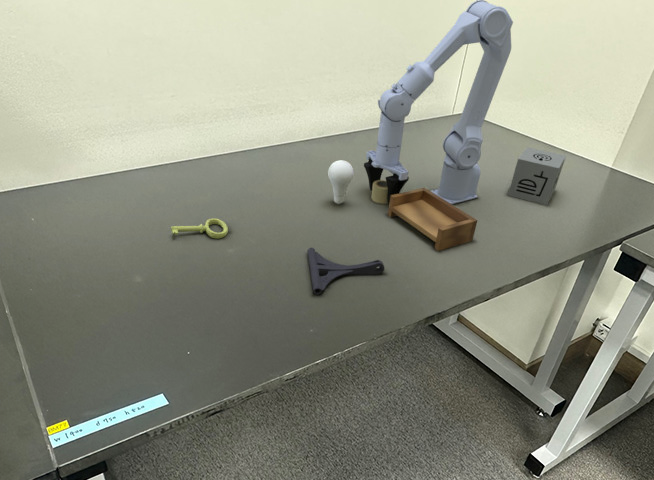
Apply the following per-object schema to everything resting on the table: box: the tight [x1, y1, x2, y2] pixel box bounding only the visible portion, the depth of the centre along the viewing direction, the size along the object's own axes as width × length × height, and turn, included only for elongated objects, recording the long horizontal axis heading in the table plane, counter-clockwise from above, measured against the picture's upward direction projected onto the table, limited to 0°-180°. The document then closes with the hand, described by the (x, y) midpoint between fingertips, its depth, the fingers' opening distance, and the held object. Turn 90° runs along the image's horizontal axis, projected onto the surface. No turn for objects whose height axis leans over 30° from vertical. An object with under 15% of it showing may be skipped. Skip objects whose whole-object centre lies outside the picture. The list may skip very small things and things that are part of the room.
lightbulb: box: [327, 159, 355, 205], centre depth 128 cm, size 6×6×11 cm
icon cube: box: [507, 146, 567, 206], centre depth 138 cm, size 10×10×10 cm
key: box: [170, 217, 229, 239], centre depth 116 cm, size 7×12×2 cm, turn 126°
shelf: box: [387, 187, 478, 252], centre depth 122 cm, size 10×18×5 cm, turn 31°
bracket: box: [307, 247, 385, 296], centre depth 106 cm, size 14×15×3 cm
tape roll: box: [370, 179, 389, 205], centre depth 133 cm, size 5×5×4 cm
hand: (382, 195), depth 134 cm, fingers open, 7 cm apart
